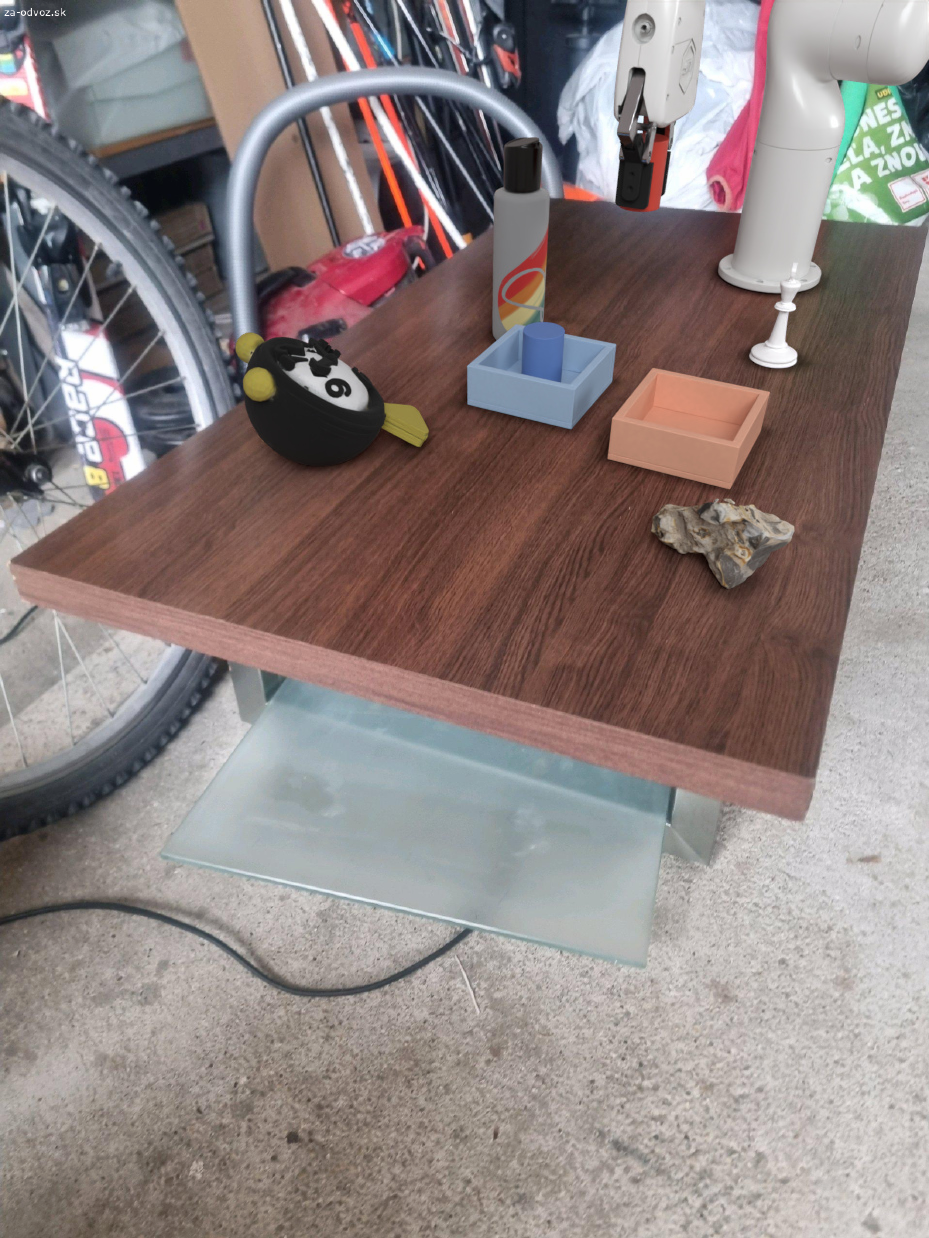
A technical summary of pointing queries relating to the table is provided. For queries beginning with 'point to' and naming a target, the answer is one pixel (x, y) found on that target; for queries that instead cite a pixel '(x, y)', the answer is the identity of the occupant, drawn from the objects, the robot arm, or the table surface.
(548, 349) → the blue peg
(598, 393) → the blue bin
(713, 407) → the orange bin
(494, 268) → the lotion bottle
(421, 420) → the alarm clock
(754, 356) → the chess piece
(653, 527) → the rock
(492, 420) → the table surface
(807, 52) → the robot arm
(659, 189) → the red peg
